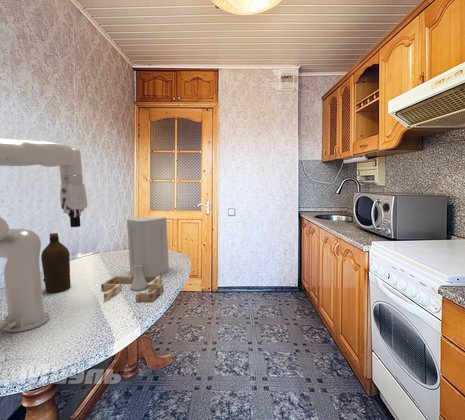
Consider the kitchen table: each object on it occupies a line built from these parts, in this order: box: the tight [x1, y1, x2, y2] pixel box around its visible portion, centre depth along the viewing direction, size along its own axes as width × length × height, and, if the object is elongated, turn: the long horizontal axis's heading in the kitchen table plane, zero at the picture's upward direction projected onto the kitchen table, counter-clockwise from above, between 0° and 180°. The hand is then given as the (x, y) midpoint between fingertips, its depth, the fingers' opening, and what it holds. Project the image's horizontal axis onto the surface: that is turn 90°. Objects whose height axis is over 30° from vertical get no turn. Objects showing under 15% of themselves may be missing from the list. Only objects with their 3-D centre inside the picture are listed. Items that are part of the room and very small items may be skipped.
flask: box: [129, 265, 148, 292], centre depth 126 cm, size 7×7×10 cm
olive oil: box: [40, 232, 72, 294], centre depth 127 cm, size 11×11×25 cm
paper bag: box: [126, 216, 170, 275], centre depth 145 cm, size 19×15×28 cm
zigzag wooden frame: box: [100, 274, 165, 303], centre depth 123 cm, size 23×27×3 cm
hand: (75, 226), depth 115 cm, fingers closed
